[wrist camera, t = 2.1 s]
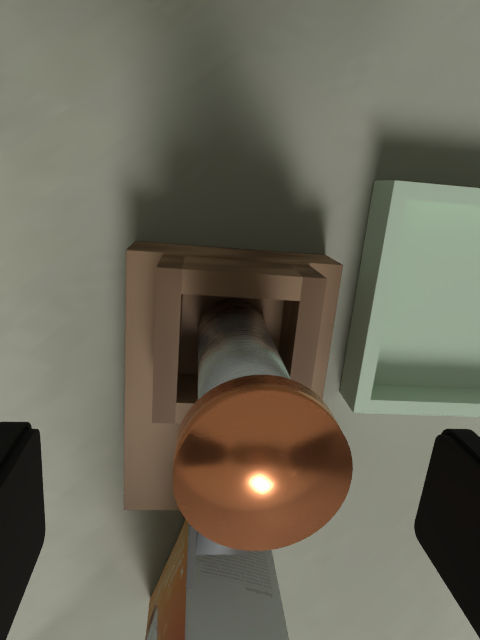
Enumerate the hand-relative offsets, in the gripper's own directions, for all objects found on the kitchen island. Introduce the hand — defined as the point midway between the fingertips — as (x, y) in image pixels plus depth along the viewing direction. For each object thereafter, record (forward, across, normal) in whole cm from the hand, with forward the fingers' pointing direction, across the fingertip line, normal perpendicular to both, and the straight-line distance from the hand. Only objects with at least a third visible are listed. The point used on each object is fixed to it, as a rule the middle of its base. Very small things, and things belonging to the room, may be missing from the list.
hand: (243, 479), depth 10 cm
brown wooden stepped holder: (+14, -1, +4) cm, 15 cm away
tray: (+14, -14, -1) cm, 20 cm away
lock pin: (+12, -1, 0) cm, 12 cm away
